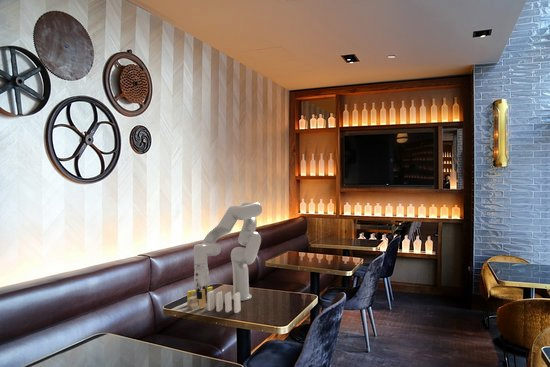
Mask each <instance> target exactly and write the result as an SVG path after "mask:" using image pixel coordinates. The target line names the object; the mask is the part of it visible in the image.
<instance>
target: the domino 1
mask: <svg viewBox="0 0 550 367" xmlns="http://www.w3.org/2000/svg"><path fill="white" fill-rule="evenodd" d="M201 292H202V299H199V303H198V309H199V310H202V309H204V308H205V307H206V306H207V304H206V303H207V302H206V299H205V289H202V290H201Z"/></svg>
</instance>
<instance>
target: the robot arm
mask: <svg viewBox="0 0 550 367" xmlns="http://www.w3.org/2000/svg"><path fill="white" fill-rule="evenodd" d="M262 213H263V206H262V205H261V203H259V202H249V201H248V202H246V201H245V202H243V203H241V204H240V205H232V206H229V207H228V208H227V210H226V211H225V213H224V215H223V216H222V218H221V220H220V221H219V222H218V224H217V225H216V226H215V227H213V229H211V230H210V231H209V232H208V233H207V234H206V235H205V237H204V239H203V240H202V242H201V243H198V244H194V246H193V265H194V267H193V268H194V273H193V275H194V276H193V283H194V287H193V288H194V289H193V290H196V292H197V299H202V292H201V289H205V296H207V287H208V285H209V284H210V272H209V267H208V257H211V256H212V257H215V256H218V255H219V254H221V251H222V247H221V245H220V244H219V243H217V241H218V240H219V239H220V238H222V237H224V236H225V235H226V236H227V235H229V233H231V231H232V230H233V228H234V226H235V224H236V223H237V222H238V221H243V223H242V227H241V230H240V233H239V235H238V239H237V240H238V244H240V245H241V246H236V247H234V248H233V249H232V250H231V252H230V260H231V264H232V283H233V294H231V300H232V301H234V294H236V293H237V292H240V302H242V301H248V300H251V299H252V294H250V289H249V288H250V284H249V281H250V280H249V267H248V265H252V264H253V263H255V262H256V261H255V260H256V258H257V256H258V253H259V250H260V246H261V243H262V236H261V235H260V233H259V232H257V231H256V229H257V224H258V223H257V218H256V217H258V216H260V215H261V214H262ZM242 246H243V247H242ZM244 246H245V247H244Z"/></svg>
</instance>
